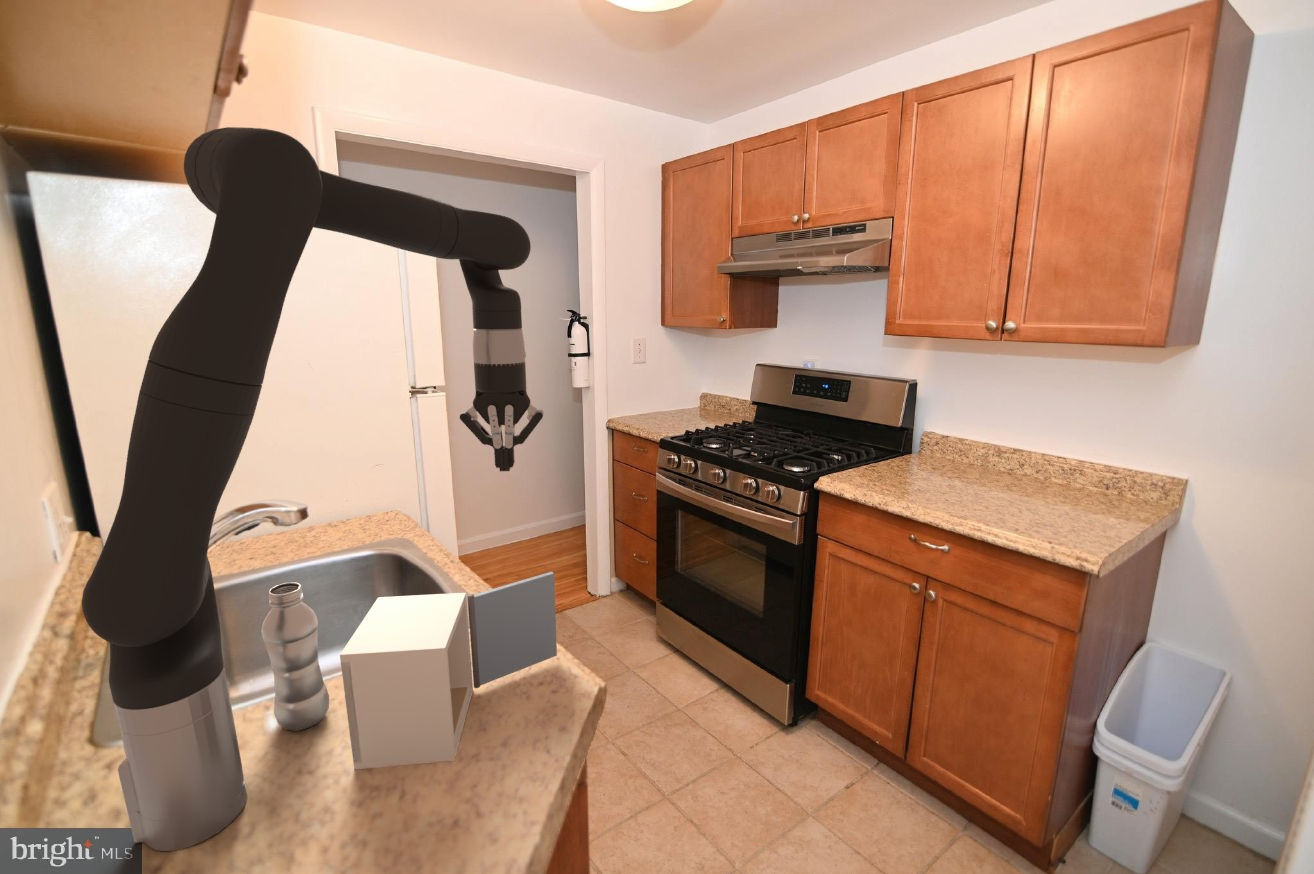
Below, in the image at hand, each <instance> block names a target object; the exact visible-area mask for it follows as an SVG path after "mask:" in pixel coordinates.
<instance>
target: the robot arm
mask: <svg viewBox="0 0 1314 874" xmlns="http://www.w3.org/2000/svg"><path fill="white" fill-rule="evenodd" d="M183 172H184V175H185V176H184V177H185V180H186V182H187V185H188V186H189V188H190V190H191V192H192V194H193V195H194V196H195V197H196V198H197V200H198V201H199V203H201V204H202V205H203V206H204V207H205V208H207V210H209V211H211V212H212V213H213V214H214V215H216V216H215V220H214V225H213V230H212V233H211V239H210V243H209V247H208V250H207V254H206V256H205V259H204V262H203V264H202V266H201V268H200V271H199V272H198V274H197V276H196V277H195V279H194V281H193V283H192V284H191V285H190V286H189V288H188V289H187V291H186V292H185V293H184V294H183V296H182V297H181V299H180V300H179V301H178V303H177V304H176V305H175V306H174V308H173V310H172V311H171V313H170V314H169V316H168V317H167V319H166V320H165V322H164V323H163V324H162V327H161V328H160V330H159V331H158V333H157V335H156V336H155V340H154V341H153V343H152V346H151V349H150V351H149V355H148V359H147V363H146V366H145V371H144V374H143V377H142V382H141V385H140V387H139V388H140V389H139V393H138V397H137V402H136V407H135V413H134V415H133V416H134V417H133V422H132V427H131V430H130V438H129V443H128V449H127V455H126V456H127V457H126V463H125V464H126V465H125V471H124V472H125V473H124V479H123V480H124V481H123V486H122V491H121V497H120V500H119V504H118V507H117V510H116V514H115V516H114V519H113V522H112V524H111V528H110V531H109V532H108V535H107V538H106V540H105V543H104V545H103V547H102V550H101V552H100V555H99V557H98V559H97V561H96V564H95V567H94V569H93V571H92V573H91V575H90V576H89V579H88V580H87V582H86V584H85V586H84V588H83V591H82V596H81V609H82V613H83V615H84V619H85V621H86V623H87V625H88V626H89V628H90V630H91V631H93V633H94V634H96V635H97V636H98V637H99V638H101V639H102V640H104V641H106V642H108V643H109V655H110V656H109V668H108V669H109V671H108V683H109V689H110V690H109V691H110V694H111V699H112V701H113V702H112V703H113V706H114V711H115V716H116V719H117V723H118V727H119V731H120V736H121V740H122V744H123V745H122V746H123V749H124V753H125V759H124V760H122V762H121V763H120V764H119V765H118V767H117V773H118V776H119V781H120V786H121V789H122V794H123V797H124V798H123V799H124V804H125V808H126V811H127V816H128V820H129V824H130V829H131V833H132V838H133V841H134V843H136V844H138V843H144V844H146V845H147V846H148V847H149V848H150V849H151V850H152V849H153V850H155V851H161V852H162V851H163V852H170V851H177V850H182V849H186V848H190V847H192V846H195V845H197V844H200V843H201V842H204V841H205V840H207V839H210V838H211V837H213V836H215V835H216V834H219V833H220V832H221V831H222V830H223V829H225V828H227V826H229V825H230V824H231V823H232V821H234V820H235V819H236V818H237V817H238V816H239V814H240V813H242V810H243V808H244V806H245V805H246V802H247V798H248V795H247V788H246V780H245V777H244V771H243V764H242V763H243V762H242V759H241V752H240V747H239V741H238V735H237V730H236V725H235V719H234V714H233V708H232V702H231V698H230V697H231V696H230V691H229V684H228V681H227V675H226V670H225V663H224V657H223V650H222V649H223V648H222V631H221V630H222V629H221V623H220V616H219V612H218V603H217V597H216V596H217V595H216V590H215V585H214V579H213V573H212V567H211V563H210V561H209V557H208V551H209V544H210V539H211V534H212V529H213V524H214V520H215V516H216V514H217V509H218V507H219V504H220V501H221V499H222V496H223V494H224V492H225V490H226V487H227V485H228V483H229V480H230V478H231V476H232V473H233V471H234V469H235V467H236V464H237V463H238V461H239V458H240V454H241V452H242V450H243V447H244V444H245V441H246V439H247V436H248V433H249V431H250V428H251V425H252V423H253V419H254V416H255V413H256V410H257V405H258V402H259V400H260V399H259V398H260V395H261V391H262V388H263V385H264V380H265V374H266V370H267V365H268V363H269V357H270V355H271V351H272V348H273V345H274V341H275V338H276V333H277V331H278V327H279V323H280V319H281V315H282V312H283V308H284V304H285V300H286V297H287V293H288V290H289V288H290V286H291V282H292V279H293V277H294V274H295V272H296V269H297V267H298V264H299V262H300V260H301V257H302V256H303V255H302V254H303V253H304V250H305V248H306V245H307V243H308V240H309V238H310V235H311V233H312V231H313V228H314V229H315V228H316V229H319V230H325V231H331V232H336V233H340V234H344V235H348V236H352V237H356V238H360V239H363V240H368V241H371V242H374V243H378V244H382V245H384V246H389V247H392V248H395V249H398V250H399V249H400V250H403V251H407V252H412V253H415V254H420V255H424V256H428V257H432V258H437V259H441V260H442V259H443V260H458V262H459V265H460V268H461V271H462V275H463V278H464V280H465V285H466V288H467V290H468V292H469V296H470V299H471V306H472V309H471V310H472V312H471V313H472V324H473V325H472V327H473V336H472V337H473V338H472V354H473V355H472V356H473V357H472V358H473V370H474V384H475V385H474V387H475V394H474V395H475V396H474V399H473V400H472V406H470V407H469V408H468V409H467V410H464V411H463V412H462V413H461V414H459V419H460V420H461V422H462V423H463V424H464V425H465V426H466V428H467V429H468V430H469V431H470V432H471V433H472V434H473V435H474V436H475V437H476V439H477V440H479V442H480V443H481V444H482V445H484V446H490V447H492V448H493V450H494V451H493V452H494V453H493V454H494V466H495V468H496V469H499V472H510V471H511V469H512V468H514V464H515V462H516V461H515V447H516V446H518V445H523V444H524V443H525V442H526V440H527V439H528V437H530V435H531V434H532V433H533V431H534V429H536V427H537V426H538V424H539V423H540V422H541V420H542V419H543V416H544V414H545V413H544V411H543V409H538V408H537V407H536V406H534V405H533V404H531V399H530V396H529V395H528V392H527V376H526V375H527V373H526V372H527V371H526V367H527V366H526V358H527V357H526V355H527V354H526V353H527V352H526V349H525V340H524V334H523V323H522V322H523V318H522V302H521V301H522V299H521V295H520V293H519V292H518V291H517V290H516V289H513V288H510V287H508V286H506V285H504V283H503V281H502V277H501V276H500V271H510V270H515V269H517V268H519V267H521V266H522V265H524V264H525V262H526V261H527V259H528V258H529V256H530V252H531V250H532V249H531V248H532V247H531V241H530V237H529V234H528V232H527V231H526V229H525V228H524V227H523V226H522V225H521V224H520V223H519V222H518V221H516V220H514V219H512V218H511V217H508V216H506V215H503V214H502V215H501V214H496V213H490V212H484V211H481V210H480V211H479V210H473V209H465V208H460V207H457V206H454V205H452V204H449V203H448V202H447V203H446V202H444V201H440V200H437V199H434V198H432V197H428V196H425V195H421V194H418V193H414V192H411V191H407V190H403V189H400V188H399V189H397V188H393V187H388V186H384V185H379V184H376V183H375V184H374V183H371V182H365V181H361V180H357V179H353V178H352V179H351V178H348V177H344V176H340V175H339V174H338V175H337V174H333V173H332V172H331V173H330V172H329V171H325V170H321V169H320V168H319V166H318V164H317V162H316V160H315V158H314V157H313V155H312V154H311V151H309V150H308V148H307V147H306V146H305V145H304V144H303V143H302V142H301V141H300V140H297V138H295V137H293V136H292V135H289V134H288V133H285V132H281V131H277V130H274V129H269V128H262V127H241V126H240V127H238V126H236V127H235V126H232V127H230V126H226V127H222V128H221V127H220V128H214V129H211V130H209V131H206V132H204V133H202V134H200V135H199V136H197V137H196V138H195V139H194V140H193V141H192V142H191V143H190V144H189V146H188V148H187V149H186V152H185V154H184V159H183ZM526 412H527V415H526V419H527V420H528V422H527V423H526V424H525V426H523V428H522V430H521V431H520V432H519V433H518V434H516V435H515V432H516V431H515V430H516V425H517V424H519V422H520V420H521V419H522V417H524V415H525V413H526ZM478 414H479V415H478ZM479 416H481V418H482V419H483V420H484V422H485V423H486V424H488V425H489V426H490V427H489V428H490V433H491V434H490V433H489V432H488V430H487V429H486V428H485V427H484V426H483V425H482V424H481V423H480V422H479V420H478V419H479ZM503 426H504V433H503ZM503 434H504V436H503Z"/></svg>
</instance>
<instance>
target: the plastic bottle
mask: <svg viewBox="0 0 1314 874" xmlns="http://www.w3.org/2000/svg"><path fill="white" fill-rule="evenodd" d="M302 590H303V589H302V586H301V584H300V583H299V582H293V581H292V582H284V583H280V584H278V585H274V586H273V587H271V588H270V589H269V590H268V598H269V600H268V605H269V607H271V609H270V611H269V612H268V614H267V615H266V617H265V618H264V620H263V622H262V626H261V631H260V632H261V636H262V640H263V642H264V645H265V648H266V651H267V654H268V657H269V661H270V665H271V667H272V672H273V680H274V681H273V684H274V703H273V704H274V705H273V715H274V717H275V718H276V722H277V724H278V726H280V727H281V728H283V729H285V730H287V731H291V732H292V731H293V732H294V731H295V732H296V731H302V730H306V729H309V728H311V727H313V726H315V725H317V724H319V723H320V722H321V721H322V720H323V719H324V717H326V714H327V712H328V710H329V707H330V706H329V705H330V695H329V691H328V689H327V686H326V684H325V682H324V679H323V674H322V670H321V666H320V662H319V650H318V632H319V629H318V628H319V624H318V623H319V622H318V617H317V615H316V613H315V611H314V610H313V609H312V608H311V607H310V606H309V605H307V604H306V603H304V602H303V600H304V594H303V591H302Z"/></svg>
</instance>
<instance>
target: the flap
mask: <svg viewBox="0 0 1314 874" xmlns="http://www.w3.org/2000/svg"><path fill="white" fill-rule="evenodd" d="M555 589H556V588H555V573H554V572H553V571H549V572H546V573H542V574H539V575H536V576H532V577H528V578H526V579H522V580H519V581H516V582H511V583H508V584H505V585H501V586H498V587H495V588H492V589H491V588H490V589H488V590H484V591H482V592H477V593H475V594H474V593H471V594H470V593H469V594H467V595H466V598H467V612H468V626H469V640H470V654H471V668H472V682H473V689H479V688H480V687H481V686H483V685H485V684H487V683H490V682H493V681H496V680H498V679H501V678H503V677H506V676H508V675H510V674H513V673H516V672H519V671H521V670H524V669H527V668H529V667H532V666H533V665H536V664H537V665H538V664H540V663H542V662H544V661H547V660H549V659H552V658H555V657H557V656H558V648H557V622H556V621H557V620H556V590H555Z"/></svg>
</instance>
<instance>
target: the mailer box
mask: <svg viewBox="0 0 1314 874" xmlns="http://www.w3.org/2000/svg"><path fill="white" fill-rule="evenodd" d="M339 659H340V667H341V675H342V682H343V683H342V684H343V690H344V699H345V700H344V701H345V705H346V706H345V707H346V716H347V721H348V728H349V729H348V730H349V731H348V732H349V736H350V737H349V738H350V739H349V740H350V746H351V747H350V748H351V754H352V760H353V761H352V762H353V767H354V768H353V769H354V770H362V769H373V768H376V769H377V768H386V767H387V768H388V767H396V766H397V767H398V766H409V765H419V764H420V765H421V764H431V763H441V762H443V763H444V762H454V761H455V760H456V759H455V758H456V755H457V752H458V747H459V745H460V740H461V737H462V733H463V731H464V730H463V729H464V726H465V721H466V718H467V715H468V711H469V707H470V703H471V699H472V695H473V692H474V682H473V668H472V654H471V640H470V626H469V612H468V598H467V592H452V593H435V594H434V593H432V594H418V595H417V594H414V595H413V594H411V595H398V596H396V595H395V596H379V597H377V598H376V600H375V601H374V603H373V605H372V606H371V607H370V609H369V610H368V612H367V613H366V615H365V617H364V618H363V619H362V621H361V622H360V623H359V625H358V627H357V628H356V630H355V631H354V633H353V635H352V636H351V637H350V639H349V640H348V642H347V643H346V645H345V647H343V649H342V651H341V652H340V654H339Z"/></svg>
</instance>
